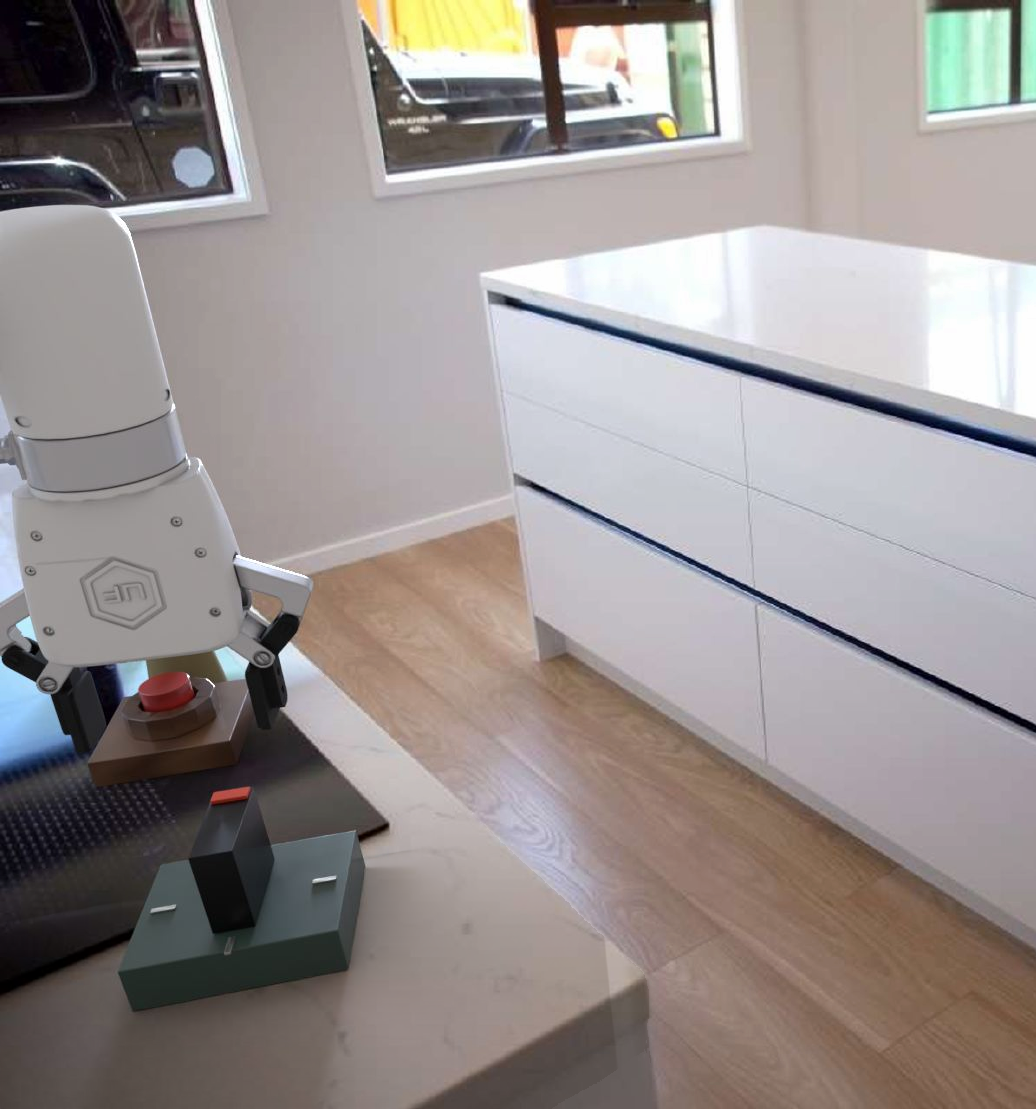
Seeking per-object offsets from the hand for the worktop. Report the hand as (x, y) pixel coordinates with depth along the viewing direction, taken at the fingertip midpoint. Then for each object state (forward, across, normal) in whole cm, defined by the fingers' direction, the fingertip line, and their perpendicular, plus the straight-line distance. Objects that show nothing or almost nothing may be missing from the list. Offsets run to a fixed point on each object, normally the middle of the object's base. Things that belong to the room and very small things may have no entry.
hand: (182, 729), depth 73 cm
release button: (+11, -9, +25) cm, 29 cm away
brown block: (+15, -9, +25) cm, 30 cm away
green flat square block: (+14, +1, -1) cm, 15 cm away
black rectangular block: (+11, +1, -1) cm, 11 cm away
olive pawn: (+15, -10, +33) cm, 37 cm away
